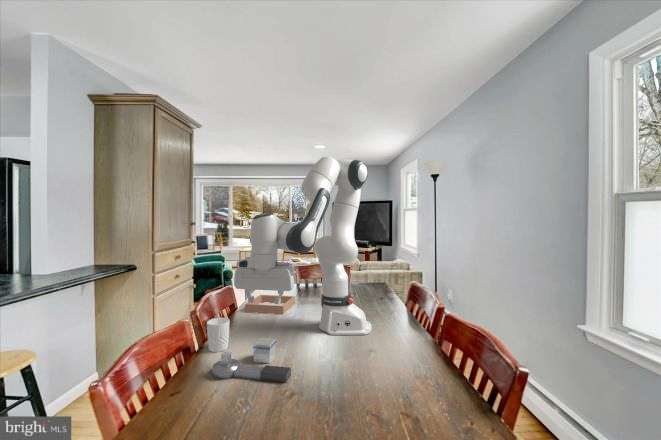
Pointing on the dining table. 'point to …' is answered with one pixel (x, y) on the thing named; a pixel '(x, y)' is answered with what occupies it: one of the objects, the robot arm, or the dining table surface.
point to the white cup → (218, 334)
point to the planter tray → (274, 309)
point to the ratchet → (248, 370)
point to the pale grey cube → (264, 350)
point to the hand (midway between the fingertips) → (264, 302)
